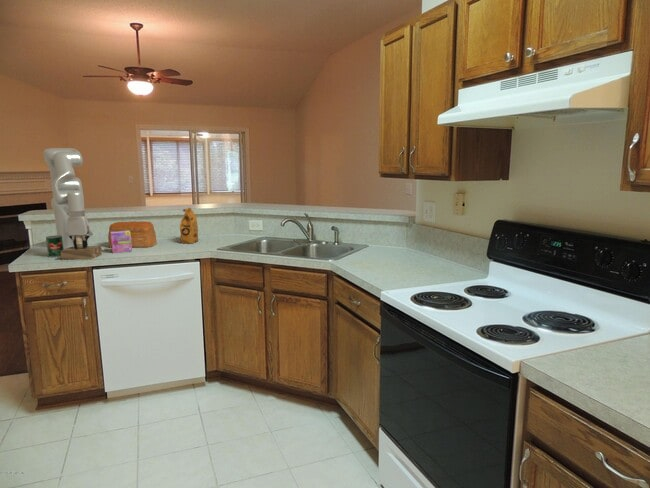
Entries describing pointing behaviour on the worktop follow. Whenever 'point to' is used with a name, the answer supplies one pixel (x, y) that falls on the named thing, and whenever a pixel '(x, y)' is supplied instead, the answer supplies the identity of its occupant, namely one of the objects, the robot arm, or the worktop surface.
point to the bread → (136, 233)
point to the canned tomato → (54, 245)
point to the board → (80, 253)
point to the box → (121, 241)
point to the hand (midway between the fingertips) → (80, 247)
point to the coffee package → (189, 227)
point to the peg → (79, 242)
